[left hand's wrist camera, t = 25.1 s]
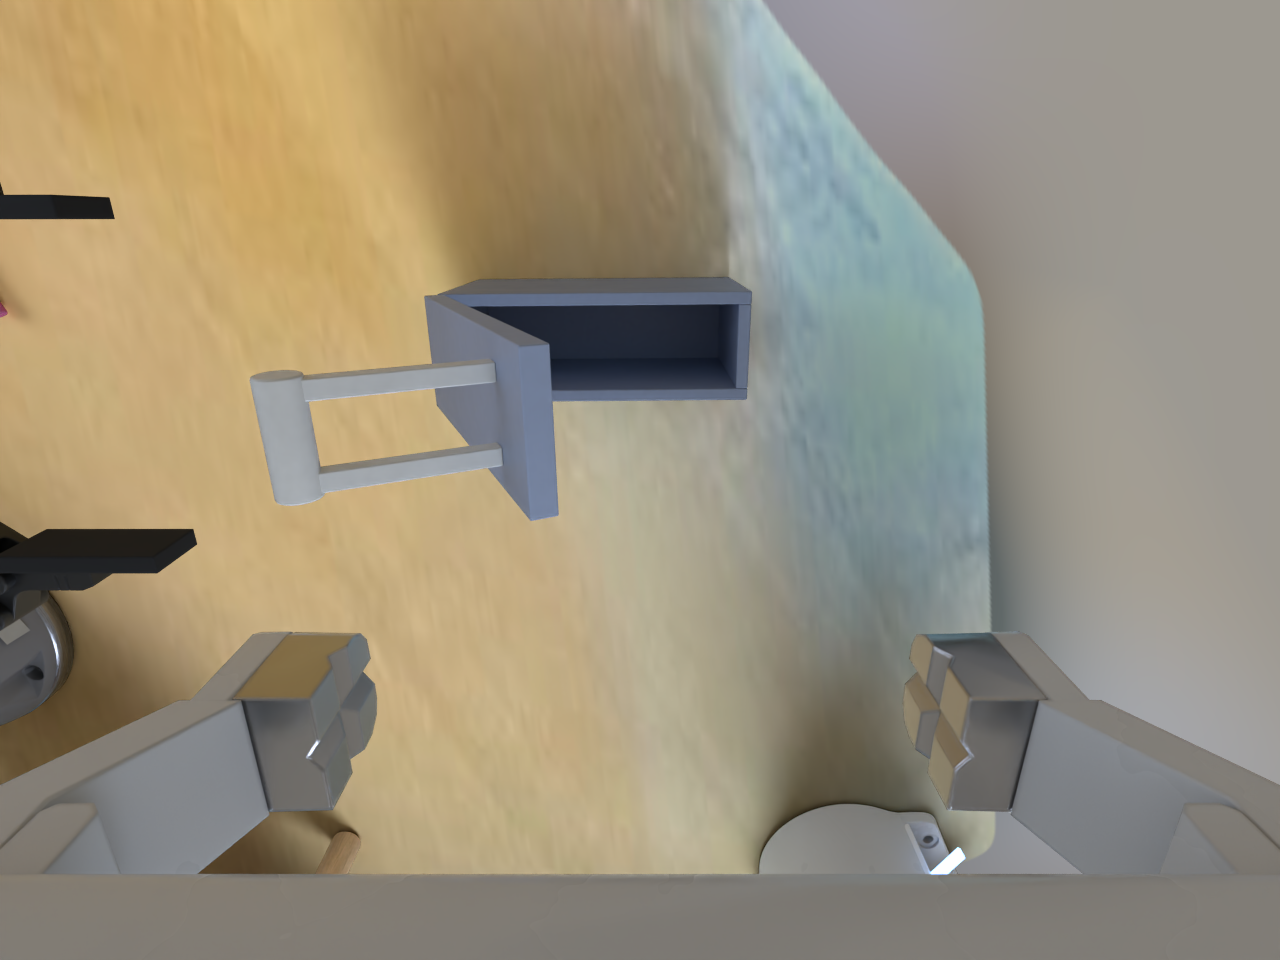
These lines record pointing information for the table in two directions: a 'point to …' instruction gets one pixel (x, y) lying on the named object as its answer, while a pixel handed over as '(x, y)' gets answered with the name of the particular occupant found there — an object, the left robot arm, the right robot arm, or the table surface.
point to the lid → (465, 392)
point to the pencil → (2, 310)
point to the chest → (629, 333)
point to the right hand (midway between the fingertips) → (135, 394)
